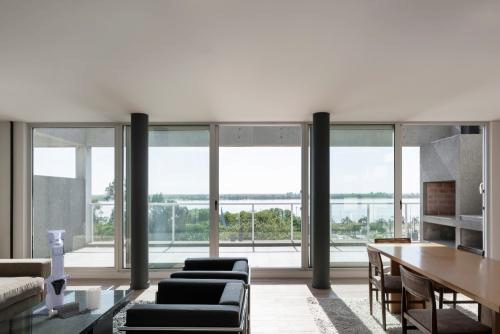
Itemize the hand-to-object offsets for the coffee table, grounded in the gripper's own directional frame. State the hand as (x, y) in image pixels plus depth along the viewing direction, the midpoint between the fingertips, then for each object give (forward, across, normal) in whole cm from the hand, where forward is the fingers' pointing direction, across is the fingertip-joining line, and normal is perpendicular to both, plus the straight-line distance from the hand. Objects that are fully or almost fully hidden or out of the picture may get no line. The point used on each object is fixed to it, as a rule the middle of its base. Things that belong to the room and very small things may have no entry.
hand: (57, 294), depth 195 cm
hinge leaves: (+10, +4, -1) cm, 11 cm away
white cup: (+11, +17, -6) cm, 21 cm away
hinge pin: (+10, +2, -1) cm, 10 cm away
